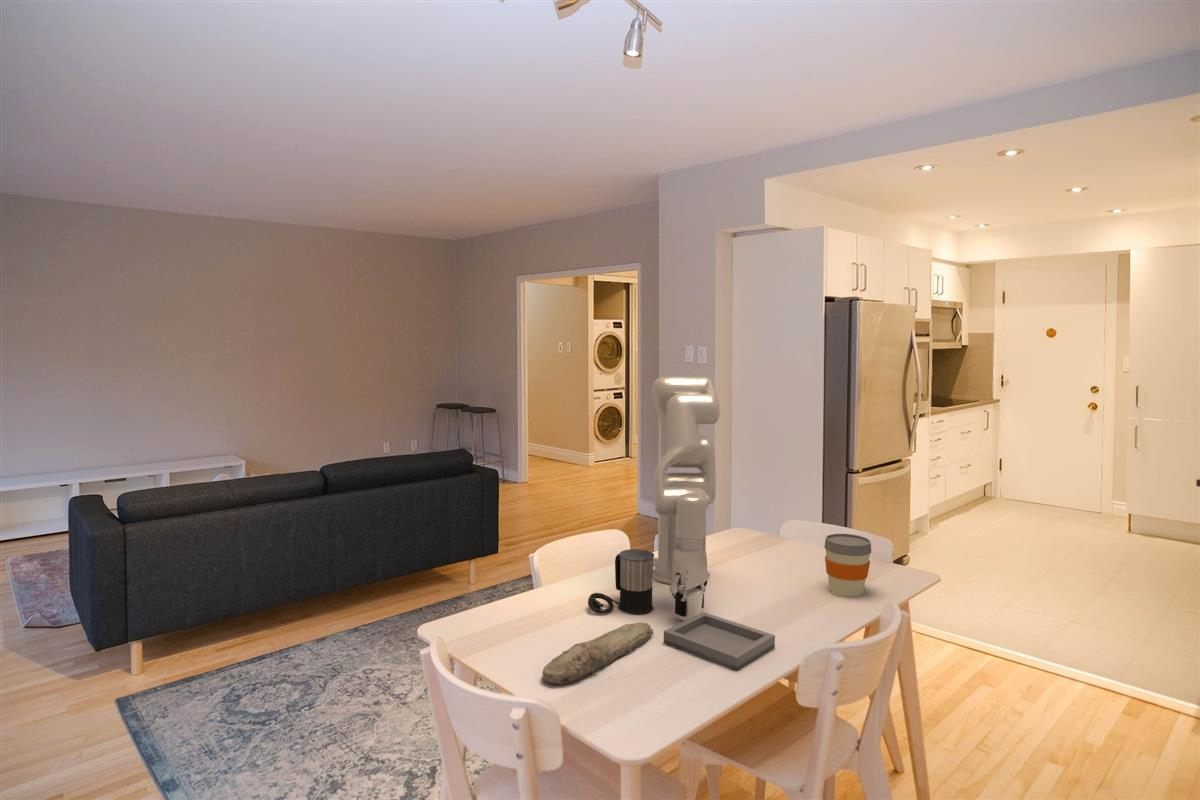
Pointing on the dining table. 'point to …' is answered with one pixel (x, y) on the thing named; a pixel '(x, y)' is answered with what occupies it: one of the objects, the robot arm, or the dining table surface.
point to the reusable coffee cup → (847, 563)
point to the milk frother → (630, 583)
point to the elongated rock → (595, 653)
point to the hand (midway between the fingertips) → (689, 610)
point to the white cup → (693, 602)
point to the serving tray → (719, 640)
